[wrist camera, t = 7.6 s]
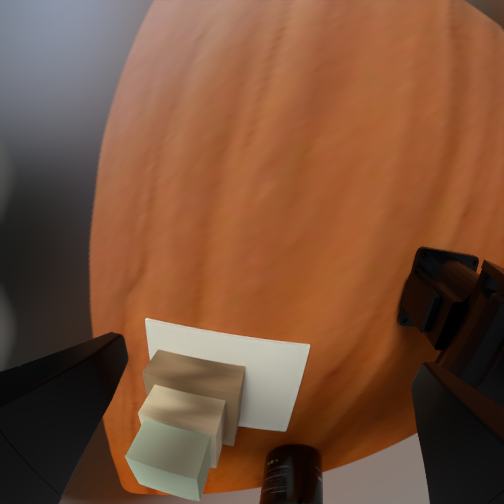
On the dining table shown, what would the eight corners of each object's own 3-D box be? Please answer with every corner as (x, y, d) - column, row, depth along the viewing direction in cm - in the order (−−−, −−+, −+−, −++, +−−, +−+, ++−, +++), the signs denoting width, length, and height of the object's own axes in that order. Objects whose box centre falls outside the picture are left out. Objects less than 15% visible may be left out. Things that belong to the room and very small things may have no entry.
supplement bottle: (333, 454, 26) (337, 536, 15) (293, 472, 28) (288, 545, 17) (293, 436, 26) (288, 529, 14) (254, 455, 28) (240, 537, 16)
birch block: (225, 400, 20) (216, 433, 16) (223, 439, 22) (216, 468, 18) (154, 384, 20) (138, 413, 17) (162, 425, 22) (150, 451, 19)
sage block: (210, 435, 17) (196, 479, 13) (210, 464, 18) (200, 501, 14) (145, 418, 17) (125, 456, 13) (154, 449, 19) (139, 483, 15)
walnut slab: (245, 366, 23) (238, 394, 19) (239, 420, 25) (234, 446, 22) (158, 349, 23) (142, 372, 20) (165, 404, 26) (154, 427, 22)
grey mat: (310, 344, 22) (310, 346, 21) (285, 429, 25) (285, 431, 25) (146, 317, 23) (145, 319, 23) (159, 406, 26) (158, 408, 26)
